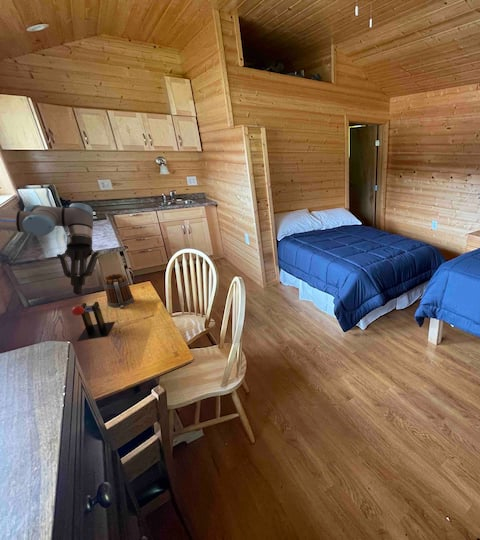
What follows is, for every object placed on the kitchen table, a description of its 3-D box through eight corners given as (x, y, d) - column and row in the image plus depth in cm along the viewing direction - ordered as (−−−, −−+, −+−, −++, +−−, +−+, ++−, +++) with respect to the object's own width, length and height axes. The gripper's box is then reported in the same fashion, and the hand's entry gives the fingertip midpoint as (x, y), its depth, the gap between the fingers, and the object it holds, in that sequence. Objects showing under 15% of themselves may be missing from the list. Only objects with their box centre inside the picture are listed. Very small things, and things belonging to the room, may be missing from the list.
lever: (82, 314, 112) (81, 305, 112) (70, 316, 111) (69, 306, 111) (97, 311, 125) (96, 303, 125) (86, 313, 124) (85, 304, 124)
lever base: (108, 338, 125) (99, 309, 120) (77, 343, 121) (67, 314, 116) (115, 323, 135) (108, 296, 130) (87, 327, 131) (78, 299, 126)
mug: (107, 302, 151) (99, 275, 145) (133, 297, 157) (126, 271, 152) (109, 316, 140) (101, 287, 134) (137, 309, 147) (130, 282, 141)
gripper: (103, 242, 127) (102, 293, 120) (63, 244, 122) (59, 298, 115) (96, 233, 121) (95, 287, 114) (53, 235, 116) (49, 292, 108)
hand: (77, 293), depth 114 cm, fingers closed
